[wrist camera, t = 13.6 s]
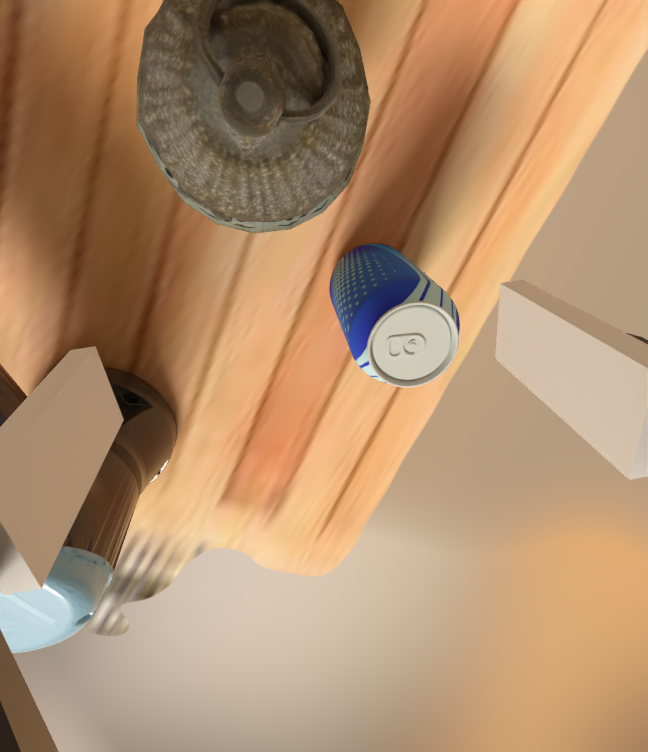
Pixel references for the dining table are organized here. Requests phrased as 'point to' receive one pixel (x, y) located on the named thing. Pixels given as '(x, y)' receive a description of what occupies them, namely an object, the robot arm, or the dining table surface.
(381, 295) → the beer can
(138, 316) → the dining table surface
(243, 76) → the lantern
